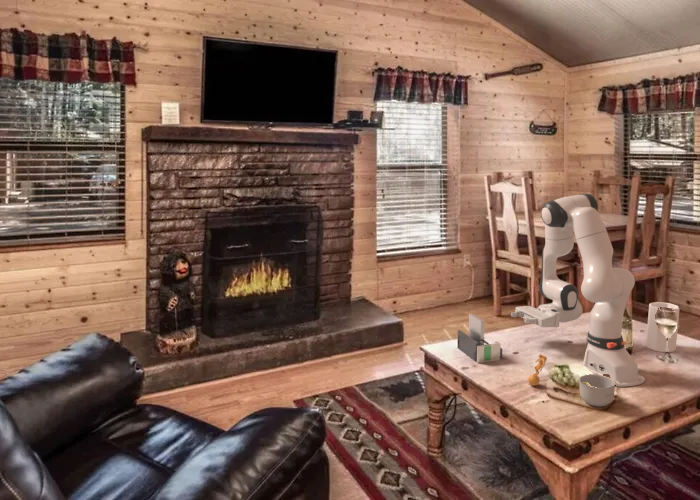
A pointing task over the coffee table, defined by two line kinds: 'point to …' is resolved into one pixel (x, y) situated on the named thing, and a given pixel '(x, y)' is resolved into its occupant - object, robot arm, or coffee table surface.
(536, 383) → the figurine
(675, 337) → the cup
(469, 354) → the gauge housing
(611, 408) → the coffee table surface
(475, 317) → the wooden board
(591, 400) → the teacup
